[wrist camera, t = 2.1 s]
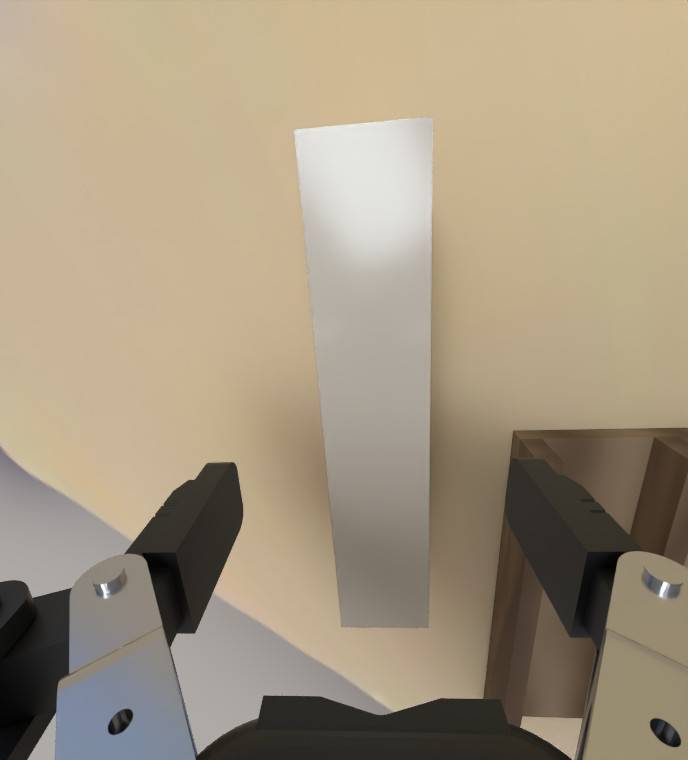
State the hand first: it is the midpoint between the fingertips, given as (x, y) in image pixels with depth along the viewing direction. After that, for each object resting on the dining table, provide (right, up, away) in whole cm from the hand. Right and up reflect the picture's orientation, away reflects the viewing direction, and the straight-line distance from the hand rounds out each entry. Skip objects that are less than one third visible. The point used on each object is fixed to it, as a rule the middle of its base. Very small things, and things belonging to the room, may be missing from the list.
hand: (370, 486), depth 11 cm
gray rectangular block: (+1, +4, +11) cm, 11 cm away
